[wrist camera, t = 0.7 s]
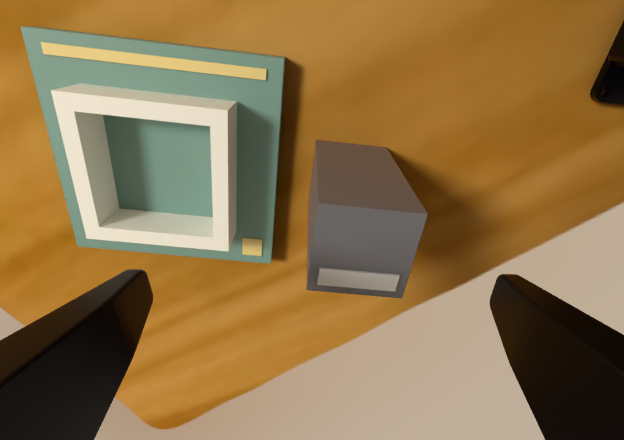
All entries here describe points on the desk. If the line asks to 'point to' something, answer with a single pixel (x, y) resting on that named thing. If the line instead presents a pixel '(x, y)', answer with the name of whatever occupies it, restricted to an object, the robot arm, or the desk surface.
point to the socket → (99, 175)
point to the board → (170, 130)
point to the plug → (361, 222)
